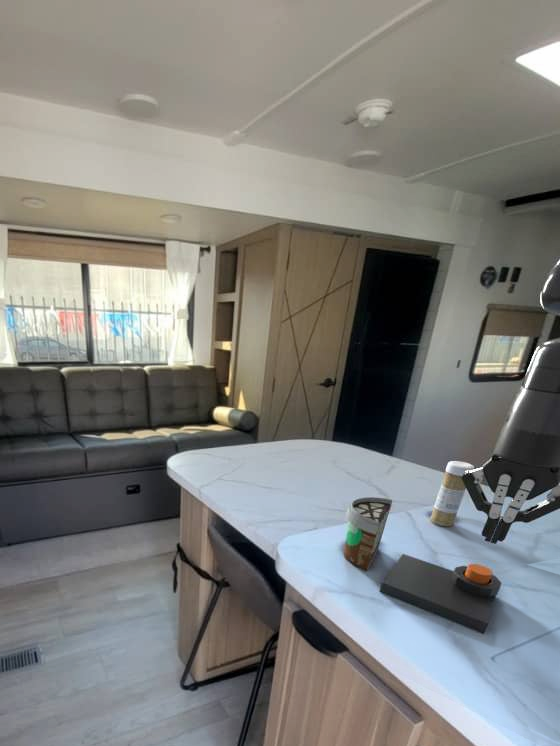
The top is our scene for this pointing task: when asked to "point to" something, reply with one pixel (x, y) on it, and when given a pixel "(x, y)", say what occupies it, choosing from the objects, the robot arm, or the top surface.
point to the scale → (442, 591)
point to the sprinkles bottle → (450, 494)
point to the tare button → (478, 573)
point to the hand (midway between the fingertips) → (490, 540)
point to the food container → (365, 529)
